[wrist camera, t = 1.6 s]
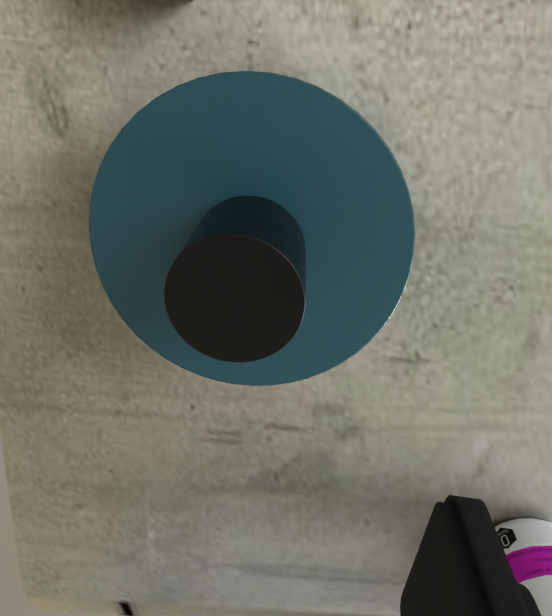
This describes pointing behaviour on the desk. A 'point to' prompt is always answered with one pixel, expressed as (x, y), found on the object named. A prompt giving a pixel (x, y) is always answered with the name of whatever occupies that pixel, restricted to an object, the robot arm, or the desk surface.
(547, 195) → the desk surface
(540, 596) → the supplement can
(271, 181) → the lid
